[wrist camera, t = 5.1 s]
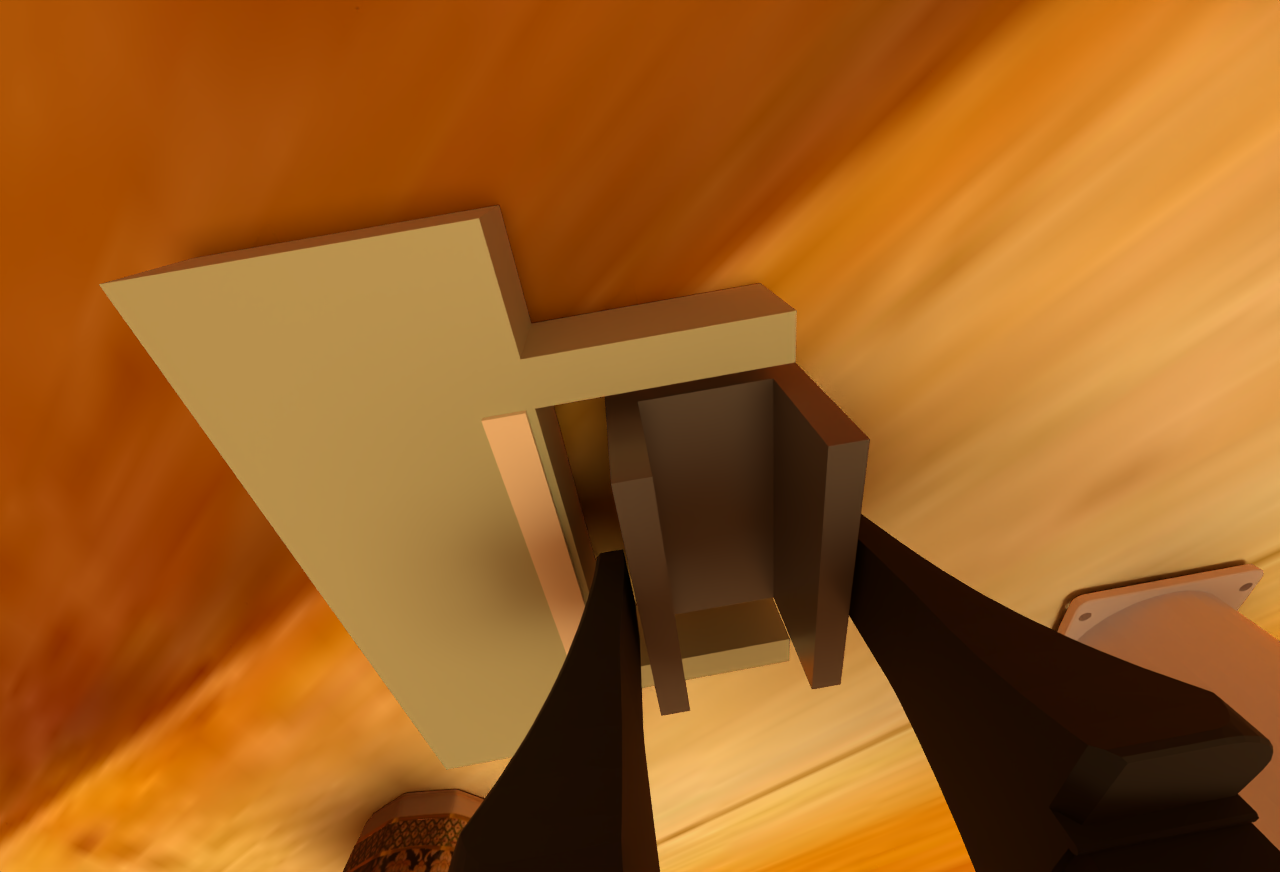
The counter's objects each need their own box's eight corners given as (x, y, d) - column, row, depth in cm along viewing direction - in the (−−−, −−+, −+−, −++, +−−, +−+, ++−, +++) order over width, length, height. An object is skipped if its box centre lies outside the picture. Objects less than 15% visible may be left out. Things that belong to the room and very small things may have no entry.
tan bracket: (766, 647, 20) (789, 709, 18) (460, 704, 20) (445, 774, 18) (757, 159, 11) (802, 162, 9) (193, 257, 11) (91, 286, 9)
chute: (775, 546, 18) (840, 684, 13) (642, 569, 18) (661, 715, 13) (775, 342, 14) (869, 439, 9) (603, 372, 14) (611, 483, 9)
